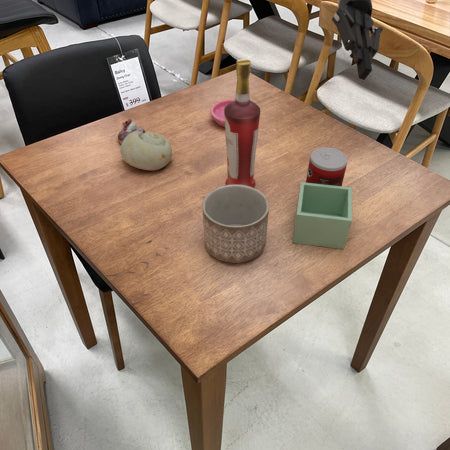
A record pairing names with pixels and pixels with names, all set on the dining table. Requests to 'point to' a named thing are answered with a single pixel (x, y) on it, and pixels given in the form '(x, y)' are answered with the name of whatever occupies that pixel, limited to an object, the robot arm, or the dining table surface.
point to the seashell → (146, 150)
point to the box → (323, 215)
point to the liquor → (241, 130)
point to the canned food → (327, 167)
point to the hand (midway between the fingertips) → (365, 74)
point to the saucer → (220, 111)
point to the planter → (235, 222)
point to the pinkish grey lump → (128, 130)
